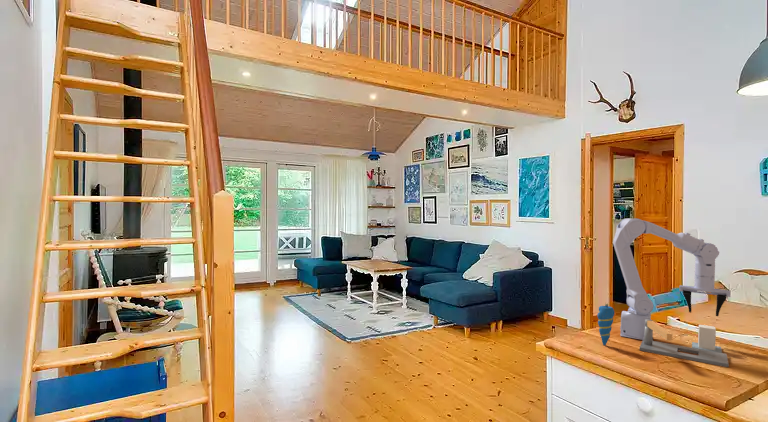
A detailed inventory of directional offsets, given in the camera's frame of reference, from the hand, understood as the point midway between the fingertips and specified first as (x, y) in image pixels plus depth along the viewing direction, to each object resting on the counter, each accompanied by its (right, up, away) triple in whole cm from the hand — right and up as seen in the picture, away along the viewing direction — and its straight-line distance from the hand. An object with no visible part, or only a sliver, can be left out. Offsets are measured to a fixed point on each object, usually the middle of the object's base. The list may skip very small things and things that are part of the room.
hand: (703, 313), depth 151 cm
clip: (-26, -2, -15) cm, 30 cm away
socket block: (-17, -10, -13) cm, 23 cm away
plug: (-4, -10, -7) cm, 13 cm away
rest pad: (-4, -10, -7) cm, 13 cm away
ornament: (-39, -10, -6) cm, 40 cm away
